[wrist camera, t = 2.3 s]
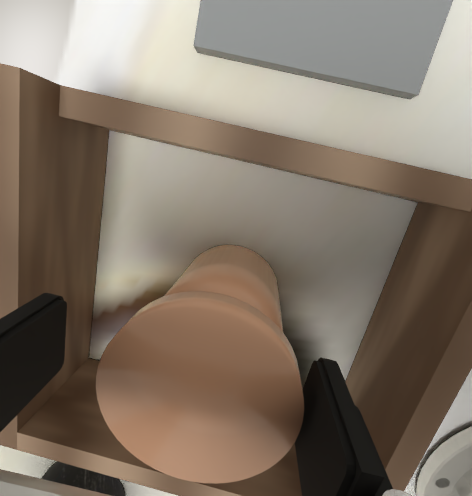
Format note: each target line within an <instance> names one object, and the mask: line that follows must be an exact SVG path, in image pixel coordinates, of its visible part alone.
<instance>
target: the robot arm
mask: <svg viewBox="0 0 472 496" xmlns="http://www.w3.org/2000/svg"><path fill="white" fill-rule="evenodd" d="M66 318H67V302H66V301H64V299H63V297H62V296H59V295H55V294H51V293H43V294H41V295H39V296H38V297H36V298H34V299H33V300H31V301H29V302H28V303H26V304H24V305H23V306H21V307H19V308H18V309H16V310H14V311H12V312H11V313H9V314H7V315H6V316H4V317H2V318H1V319H0V432H1V431H2V430H3V429H4V428H5V427H6V426H7V425H8V424H9V423H10V422H11V421H12V420H13V419H14V418H15V417H16V416H17V415H18V414H19V412H20V411H21V410H22V409H23V408H24V407H25V406H26V405H27V404H28V403H29V402H30V401H31V400H32V399H33V398H34V397H35V396H36V395H37V394H38V393H39V392H40V391H41V390H42V389H43V388H44V387H45V386H46V384H47V383H48V382H49V381H50V380H51V379H52V378H53V377H54V376H55V375H56V374H57V373H58V372H59V371H60V370H61V368H62V366H63V364H64V357H65V337H66ZM303 397H304V415H303V422H302V426H301V429H300V432H299V435H298V437H297V439H296V441H295V449H296V456H297V464H298V471H299V478H300V485H301V493H302V496H411V495H410V494H408V493H405V492H403V491H401V490H396V489H393V487H392V485H391V483H390V480H389V478H388V476H387V473H386V471H385V469H384V466H383V464H382V461H381V459H380V457H379V454H378V452H377V450H376V447H375V445H374V443H373V440H372V438H371V436H370V433H369V431H368V428H367V426H366V424H365V421H364V419H363V417H362V414H361V412H360V410H359V408H358V407H357V406H356V405H355V404H354V402H353V399H352V397H351V395H350V392H349V390H348V387H347V385H346V383H345V380H344V378H343V375H342V373H341V370H340V368H339V366H338V363H337V362H336V361H333V360H329V359H325V358H319V360H318V361H313V363H312V366H311V369H310V371H309V374H308V377H307V380H306V382H305V385H304V388H303ZM0 496H111V495H107V494H103V493H98V492H94V491H90V490H86V489H82V488H78V487H73V486H69V485H65V484H61V483H57V482H52V481H48V480H44V479H39V478H35V477H31V476H27V475H22V474H18V473H14V472H9V471H5V470H1V469H0ZM416 496H472V426H471V427H469V428H467V429H465V430H463V431H461V432H459V433H457V434H455V435H453V436H452V437H451V438H449V439H448V440H446V441H445V442H443V443H442V444H441V445H440V446H439V447H438V448H437V449H436V450H435V451H434V452H433V453H432V454H431V455H430V456H429V458H428V459H427V461H426V463H425V464H424V466H423V467H422V469H421V472H420V475H419V478H418V481H417V490H416Z"/></svg>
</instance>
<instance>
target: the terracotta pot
mask: <svg viewBox="0 0 472 496" xmlns="http://www.w3.org/2000/svg"><path fill="white" fill-rule="evenodd" d="M96 393H97V400H98V403H99V407H100V410H101V413H102V415H103V417H104V420H105V422H106V423H107V425H108V427H109V429H110V430H111V432H112V433H113V434H114V436H115V437H116V438H117V440H118V441H119V442H120V443H121V444H122V445H123V446H124V447H125V448H126V449H127V450H128V451H129V452H130V453H131V454H133V455H134V456H135V457H136V458H138V459H139V460H141V461H142V462H143V463H145V464H147V465H148V466H150V467H152V468H154V469H155V470H158V471H160V472H162V473H164V474H167V475H169V476H172V477H175V478H178V479H182V480H187V481H191V482H199V483H214V484H217V483H229V482H235V481H240V480H244V479H247V478H250V477H253V476H255V475H258V474H260V473H262V472H264V471H265V470H267V469H269V468H271V467H272V466H273V465H275V464H276V463H277V462H278V461H280V460H281V459H282V458H283V457H284V456H285V455H286V454H287V452H288V451H289V450H290V449H291V447H292V446H293V444H294V443H295V441H296V439H297V437H298V435H299V432H300V429H301V426H302V422H303V415H304V397H303V391H302V385H301V379H300V373H299V368H298V363H297V359H296V356H295V354H294V351H293V349H292V347H291V345H290V343H289V341H288V339H287V338H286V336H285V335H284V334H283V327H282V318H281V309H280V300H279V291H278V284H277V279H276V276H275V274H274V272H273V270H272V268H271V267H270V265H269V264H268V263H267V262H266V261H265V259H264V258H262V257H261V256H260V255H259V254H257V253H256V252H254V251H252V250H250V249H248V248H245V247H242V246H236V245H221V246H216V247H213V248H210V249H208V250H206V251H204V252H203V253H201V254H200V255H199V256H198V257H197V258H195V259H194V261H193V262H192V263H191V264H190V266H189V267H188V268H187V269H186V270H185V272H184V273H183V274H182V275H181V276H180V278H179V279H178V280H177V281H176V283H175V284H174V285H173V286H172V287H171V289H170V290H169V291H168V292H167V294H166V295H165V296H164V297H161V298H159V299H157V300H155V301H153V302H151V303H149V304H148V305H146V306H145V307H143V308H142V309H140V310H139V311H138V312H137V313H136V314H135V315H134V316H133V317H132V318H131V319H130V320H129V321H128V322H127V323H126V324H125V325H124V327H123V328H122V329H121V330H120V331H119V332H118V333H117V334H116V335H115V336H114V338H113V339H112V340H111V341H110V343H109V344H108V345H107V347H106V349H105V351H104V352H103V354H102V356H101V359H100V362H99V365H98V369H97V375H96Z"/></svg>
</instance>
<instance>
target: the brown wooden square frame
mask: <svg viewBox="0 0 472 496" xmlns="http://www.w3.org/2000/svg"><path fill="white" fill-rule="evenodd" d="M109 130H112V131H116V132H120V133H124V134H129V135H133V136H137V137H141V138H146V139H150V140H154V141H159V142H163V143H167V144H171V145H176V146H180V147H184V148H189V149H193V150H197V151H201V152H206V153H210V154H214V155H218V156H223V157H227V158H231V159H236V160H240V161H244V162H248V163H253V164H257V165H261V166H266V167H270V168H274V169H278V170H283V171H287V172H291V173H295V174H300V175H304V176H308V177H313V178H317V179H321V180H325V181H330V182H334V183H338V184H343V185H347V186H351V187H355V188H360V189H364V190H368V191H372V192H377V193H381V194H385V195H390V196H394V197H398V198H402V199H407V200H411V201H415V202H418V204H417V207H416V209H415V211H414V214H413V216H412V219H411V221H410V224H409V226H408V229H407V231H406V234H405V236H404V239H403V241H402V244H401V246H400V248H399V251H398V253H397V256H396V258H395V261H394V263H393V266H392V268H391V271H390V273H389V276H388V278H387V280H386V283H385V285H384V288H383V290H382V293H381V295H380V298H379V300H378V303H377V305H376V308H375V310H374V312H373V315H372V317H371V320H370V322H369V325H368V327H367V330H366V332H365V335H364V337H363V340H362V342H361V344H360V347H359V349H358V352H357V354H356V357H355V359H354V362H353V364H352V367H351V369H350V372H349V374H348V376H347V379H346V381H345V383H346V385H347V387H348V390H349V392H350V395H351V397H352V399H353V402H354V404H355V405H356V406H357V407H358V408H359V410H360V412H361V414H362V417H363V419H364V421H365V424H366V426H367V428H368V431H369V433H370V436H371V438H372V440H373V443H374V445H375V447H376V450H377V452H378V454H379V457H380V459H381V461H382V464H383V466H384V469H385V471H386V473H387V476H388V478H389V480H390V483H391V485H392V487H393V489H396V490H401V491H403V492H404V490H405V488H406V486H407V485H408V483H409V481H410V479H411V477H412V476H413V474H414V472H415V470H416V468H417V466H418V465H419V463H420V461H421V459H422V457H423V456H424V454H425V452H426V450H427V448H428V446H429V445H430V443H431V441H432V439H433V437H434V436H435V434H436V432H437V430H438V428H439V426H440V425H441V423H442V421H443V419H444V417H445V416H446V414H447V412H448V410H449V408H450V407H451V405H452V403H453V401H454V399H455V397H456V396H457V394H458V392H459V390H460V388H461V387H462V385H463V383H464V381H465V379H466V377H467V376H468V374H469V372H470V370H471V368H472V179H467V178H463V177H459V176H454V175H450V174H445V173H441V172H437V171H432V170H428V169H424V168H419V167H415V166H411V165H406V164H402V163H397V162H393V161H389V160H384V159H380V158H376V157H371V156H367V155H362V154H358V153H354V152H349V151H345V150H341V149H336V148H332V147H328V146H323V145H319V144H314V143H310V142H306V141H301V140H297V139H293V138H288V137H284V136H279V135H275V134H271V133H266V132H262V131H258V130H253V129H249V128H245V127H240V126H236V125H231V124H227V123H223V122H218V121H214V120H210V119H205V118H201V117H196V116H192V115H188V114H183V113H179V112H175V111H170V110H166V109H162V108H157V107H153V106H148V105H144V104H140V103H135V102H131V101H127V100H122V99H118V98H114V97H109V96H105V95H100V94H96V93H92V92H87V91H83V90H79V89H74V88H70V87H65V86H61V85H58V84H56V83H54V82H51V81H49V80H47V79H44V78H42V77H40V76H37V75H35V74H33V73H30V72H28V71H26V70H23V69H21V68H18V67H13V66H9V65H5V64H0V319H1V318H2V317H4V316H6V315H7V314H9V313H11V312H12V311H14V310H16V309H18V308H19V307H21V306H23V305H24V304H26V303H28V302H29V301H31V300H33V299H34V298H36V297H38V296H39V295H41V294H43V293H51V294H55V295H59V296H62V297H63V299H64V301H66V302H67V318H66V337H65V357H64V364H63V366H62V368H61V370H60V371H59V372H58V373H57V374H56V375H55V376H54V377H53V378H52V379H51V380H50V381H49V382H48V383H47V384H46V386H45V387H44V388H43V389H42V390H41V391H40V392H39V393H38V394H37V395H36V396H35V397H34V398H33V399H32V400H31V401H30V402H29V403H28V404H27V405H26V406H25V407H24V408H23V409H22V410H21V411H20V412H19V414H18V415H17V416H16V417H15V418H14V419H13V420H12V421H11V422H10V423H9V424H8V425H7V426H6V427H5V428H4V429H3V430H2V431H1V432H0V445H2V446H6V447H9V448H13V449H16V450H20V451H23V452H27V453H30V454H34V455H37V456H41V457H44V458H48V459H51V460H55V461H59V462H62V463H66V464H69V465H73V466H76V467H80V468H83V469H87V470H90V471H94V472H97V473H101V474H104V475H108V476H111V477H115V478H118V479H122V480H126V481H129V482H133V483H136V484H140V485H143V486H147V487H150V488H154V489H157V490H161V491H164V492H168V493H171V494H175V495H178V496H302V493H301V485H300V478H299V471H298V464H297V456H296V449H295V443H294V444H293V446H292V447H291V449H290V450H289V451H288V452H287V454H286V455H285V456H284V457H283V458H282V459H281V460H280V461H278V462H277V463H276V464H275V465H273V466H272V467H271V468H269V469H267V470H265V471H264V472H262V473H260V474H258V475H255V476H253V477H250V478H247V479H244V480H240V481H235V482H229V483H217V484H214V483H199V482H191V481H187V480H182V479H178V478H175V477H172V476H169V475H167V474H164V473H162V472H160V471H158V470H155V469H154V468H152V467H150V466H148V465H147V464H145V463H143V462H142V461H141V460H139V459H138V458H136V457H135V456H134V455H133V454H131V453H130V452H129V451H128V450H127V449H126V448H125V447H124V446H123V445H122V444H121V443H120V442H119V441H118V440H117V438H116V437H115V436H114V434H113V433H112V432H111V430H110V429H109V427H108V425H107V423H106V422H105V420H104V417H103V415H102V413H101V410H100V407H99V403H98V400H97V393H96V375H97V369H98V365H99V362H100V361H98V360H94V359H90V358H89V346H90V335H91V324H92V313H93V302H94V291H95V280H96V269H97V258H98V247H99V236H100V225H101V214H102V203H103V192H104V181H105V170H106V159H107V148H108V137H109Z"/></svg>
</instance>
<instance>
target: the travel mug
mask: <svg viewBox="0 0 472 496" xmlns="http://www.w3.org/2000/svg"><path fill="white" fill-rule="evenodd" d="M41 479H44V480H48V481H52V482H57V483H61V484H65V485H69V486H73V487H78V488H82V489H86V490H90V491H94V492H98V493H103V494H107V495H111V496H125V492H124V489H123V486H122V484H121V482H120V481H119V479H118V478H115V477H111V476H108V475H104V474H101V473H97V472H94V471H90V470H87V469H83V468H80V467H76V466H73V465H69V464H66V463H62V462H59V461H58V462H56V463H55V464H53V465H52V466H51V467H50V468H49V470H48V471H47V472H46V473H45V474H44V476H43V477H42V478H41Z"/></svg>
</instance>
